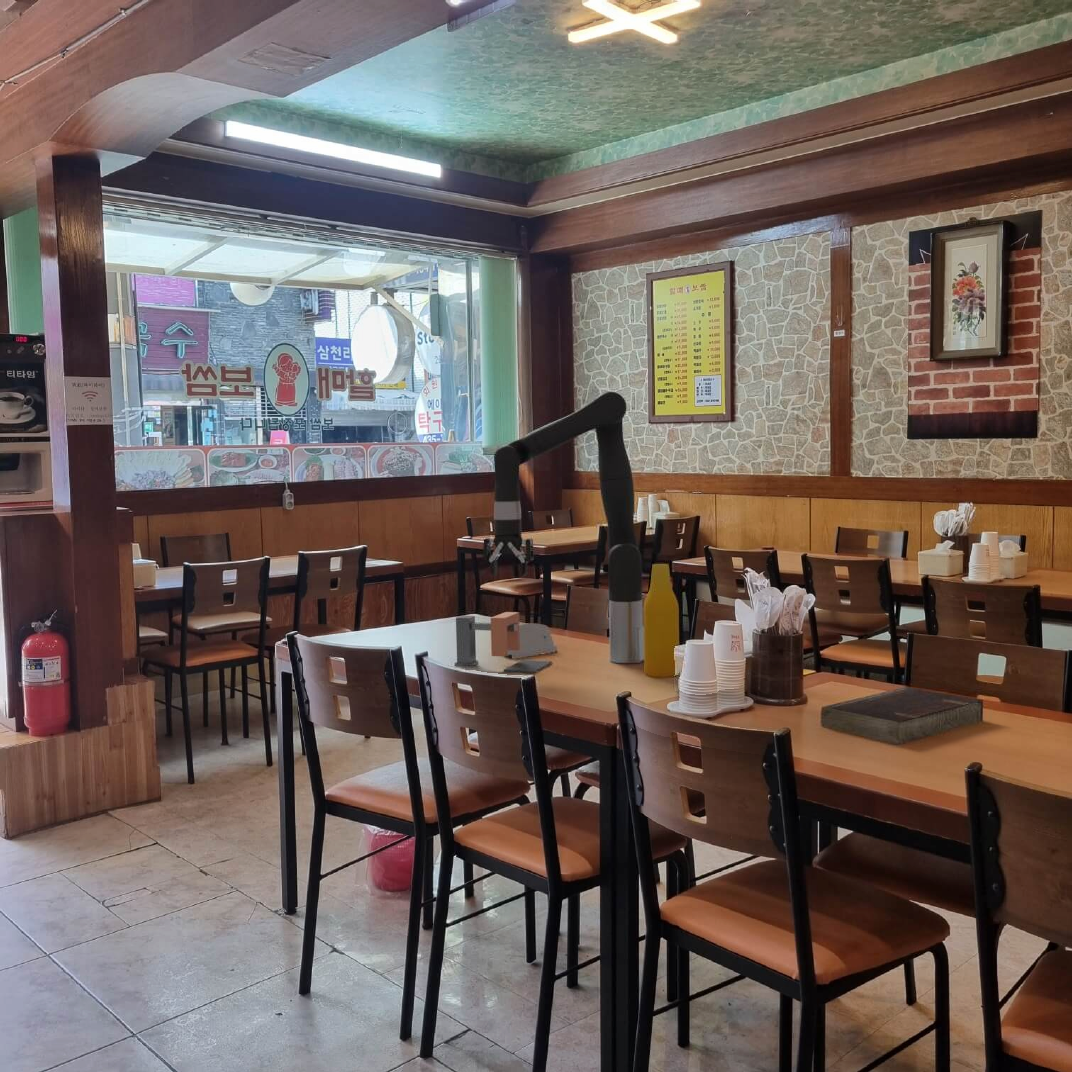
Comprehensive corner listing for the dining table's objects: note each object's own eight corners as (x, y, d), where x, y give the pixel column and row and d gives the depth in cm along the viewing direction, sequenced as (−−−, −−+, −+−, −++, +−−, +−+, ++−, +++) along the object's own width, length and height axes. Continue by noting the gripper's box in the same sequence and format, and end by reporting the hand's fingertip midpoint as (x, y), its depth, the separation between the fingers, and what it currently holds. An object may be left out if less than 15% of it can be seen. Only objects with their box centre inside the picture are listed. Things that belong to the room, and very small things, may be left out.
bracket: (519, 665, 290) (518, 617, 289) (513, 668, 285) (511, 619, 284) (462, 662, 296) (460, 615, 295) (454, 665, 291) (453, 617, 290)
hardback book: (905, 707, 235) (905, 685, 234) (982, 723, 219) (982, 699, 219) (820, 728, 218) (820, 704, 218) (898, 747, 203) (898, 722, 202)
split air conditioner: (512, 659, 299) (504, 625, 301) (503, 662, 303) (496, 628, 305) (558, 651, 309) (551, 619, 311) (550, 655, 313) (542, 622, 315)
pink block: (519, 649, 293) (519, 612, 292) (505, 656, 282) (504, 618, 281) (506, 648, 294) (505, 611, 293) (491, 655, 284) (490, 617, 283)
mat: (552, 663, 291) (552, 661, 291) (534, 673, 278) (534, 671, 278) (522, 662, 294) (522, 660, 294) (503, 671, 281) (503, 669, 281)
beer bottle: (678, 678, 268) (677, 566, 266) (642, 678, 270) (640, 566, 267) (680, 671, 277) (679, 562, 275) (646, 670, 279) (644, 562, 276)
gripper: (536, 517, 290) (537, 575, 291) (489, 516, 295) (490, 573, 296) (526, 518, 283) (527, 578, 284) (478, 518, 288) (479, 576, 289)
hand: (508, 575), depth 290 cm, fingers open, 8 cm apart
